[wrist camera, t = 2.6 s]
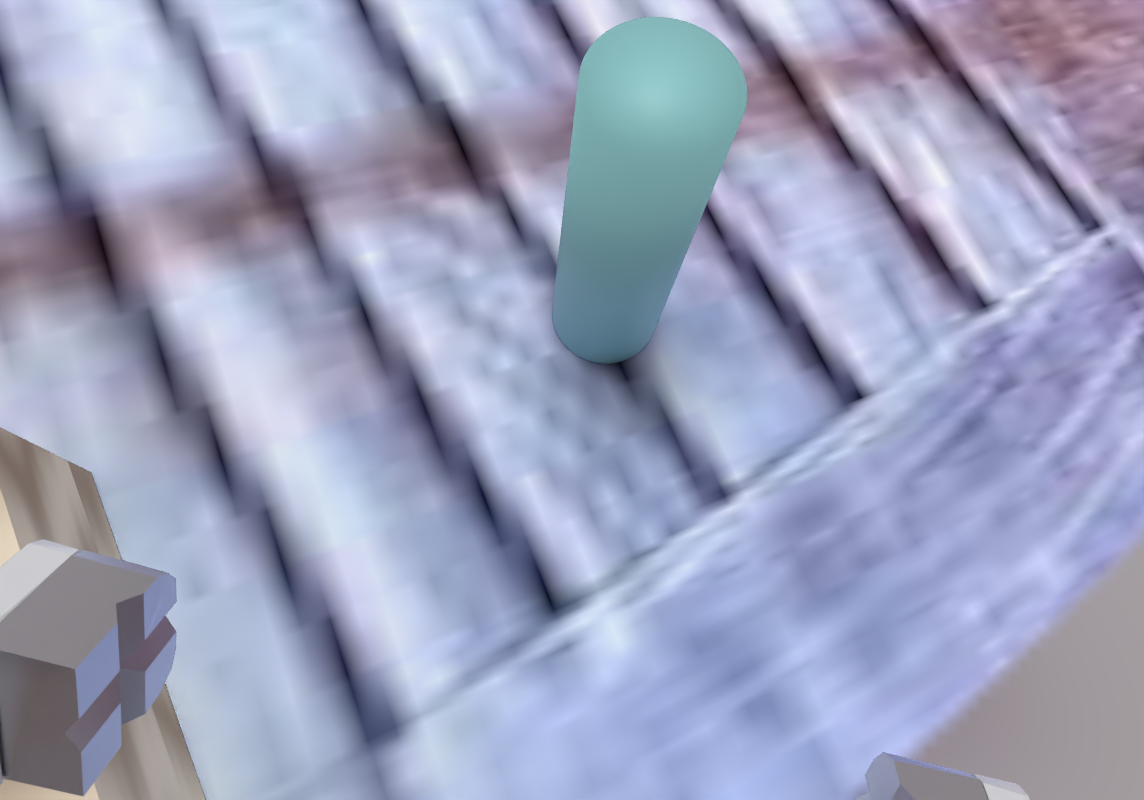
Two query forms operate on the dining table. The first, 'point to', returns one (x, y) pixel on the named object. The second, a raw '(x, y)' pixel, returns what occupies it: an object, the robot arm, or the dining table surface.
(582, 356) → the teal pin
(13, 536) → the maple block
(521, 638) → the dining table surface
